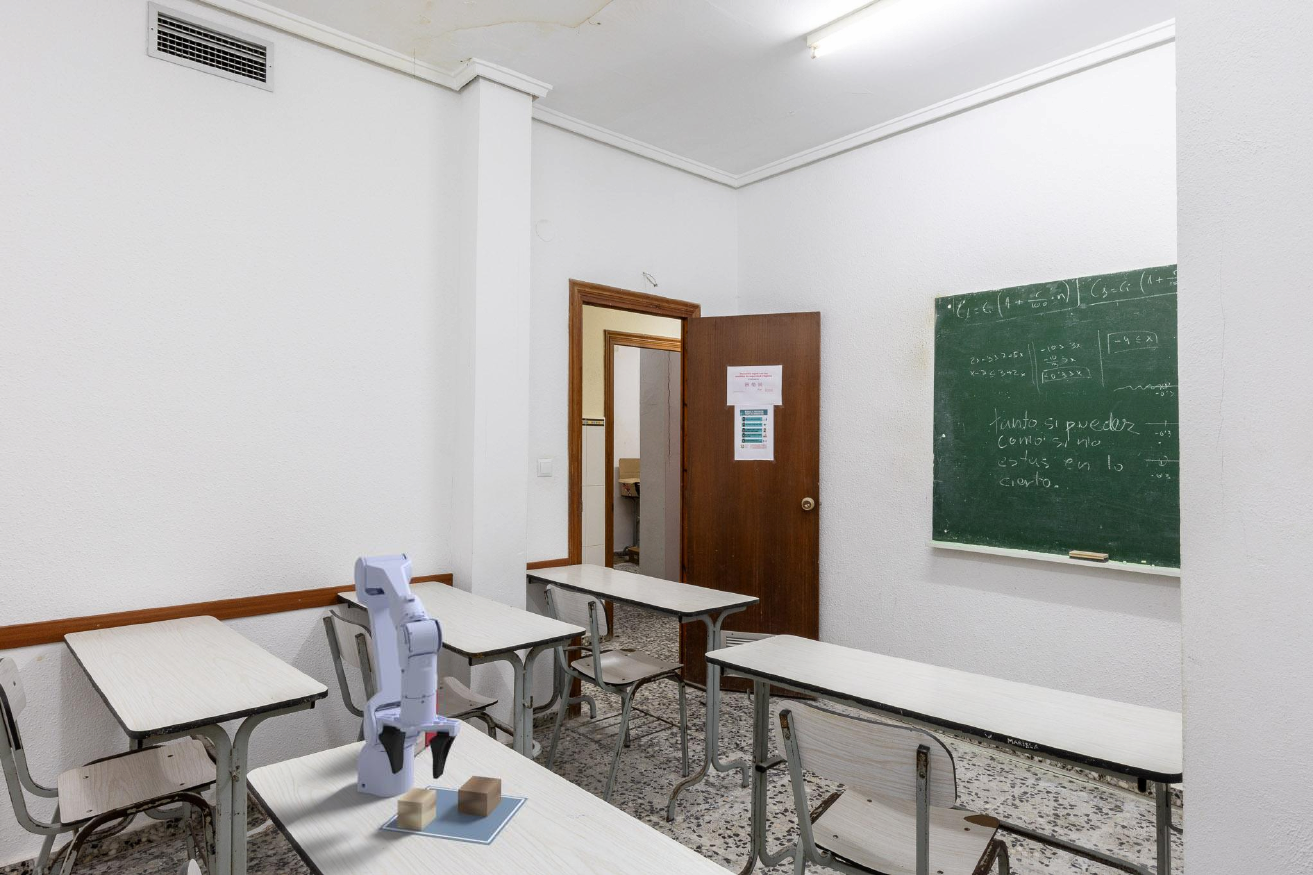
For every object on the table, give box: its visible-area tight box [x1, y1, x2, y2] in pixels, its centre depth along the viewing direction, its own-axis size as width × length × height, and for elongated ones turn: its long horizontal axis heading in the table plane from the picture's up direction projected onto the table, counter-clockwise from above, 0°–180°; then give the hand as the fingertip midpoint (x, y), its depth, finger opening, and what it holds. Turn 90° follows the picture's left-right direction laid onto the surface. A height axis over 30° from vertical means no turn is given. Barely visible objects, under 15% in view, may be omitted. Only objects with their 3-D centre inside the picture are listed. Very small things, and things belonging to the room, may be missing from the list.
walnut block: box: [457, 775, 502, 817], centre depth 125 cm, size 6×6×4 cm
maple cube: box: [396, 787, 436, 831], centre depth 120 cm, size 4×4×4 cm
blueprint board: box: [377, 785, 529, 846], centre depth 123 cm, size 20×16×1 cm
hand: (417, 773), depth 120 cm, fingers open, 7 cm apart
